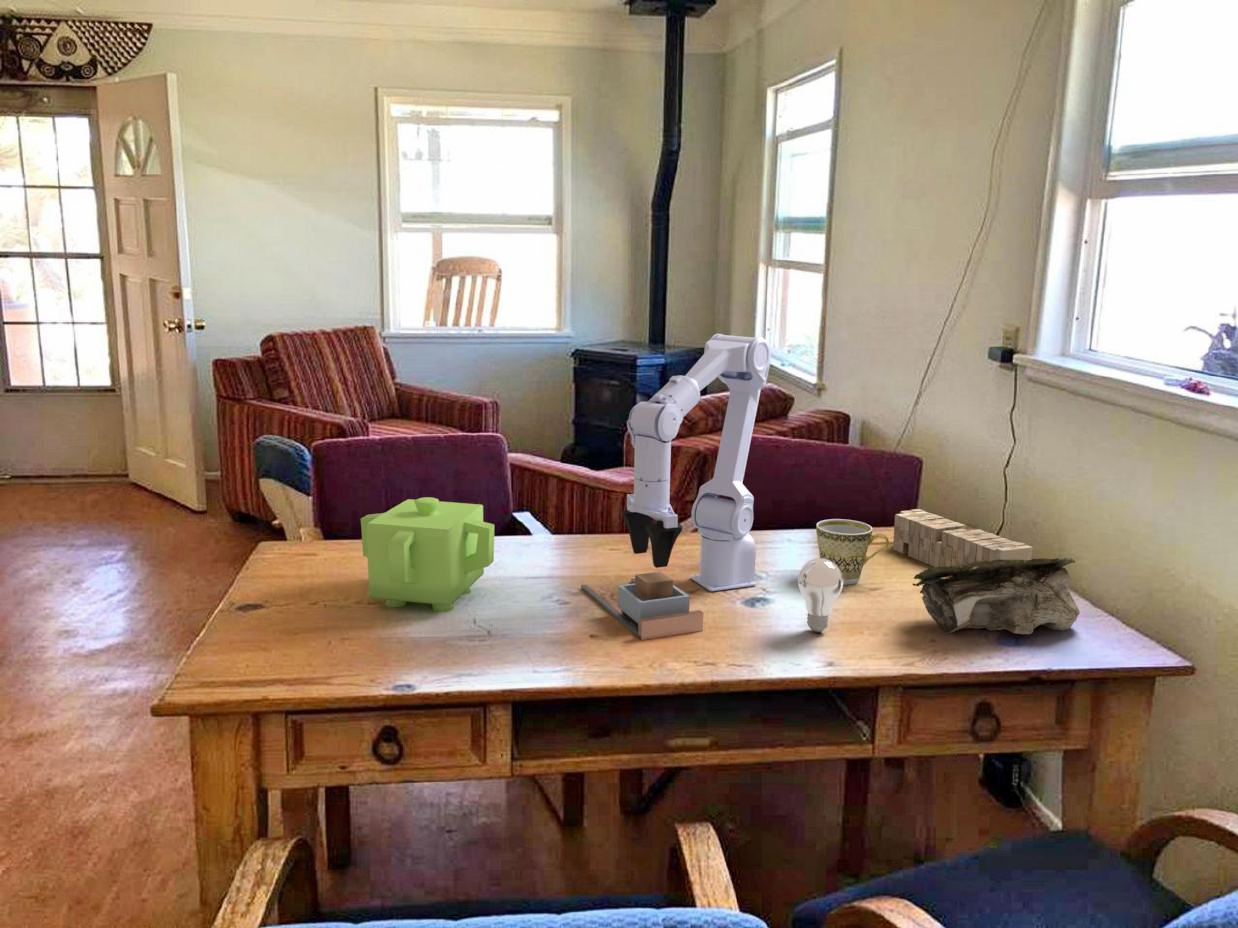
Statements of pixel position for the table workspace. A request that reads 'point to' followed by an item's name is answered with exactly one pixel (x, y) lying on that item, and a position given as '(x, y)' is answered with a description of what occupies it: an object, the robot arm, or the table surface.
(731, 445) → the robot arm
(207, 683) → the table surface
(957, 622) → the driftwood chunk
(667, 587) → the walnut block
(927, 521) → the block tower
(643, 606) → the grey open tray bin
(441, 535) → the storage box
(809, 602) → the light bulb
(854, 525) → the ceramic cup
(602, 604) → the rails
